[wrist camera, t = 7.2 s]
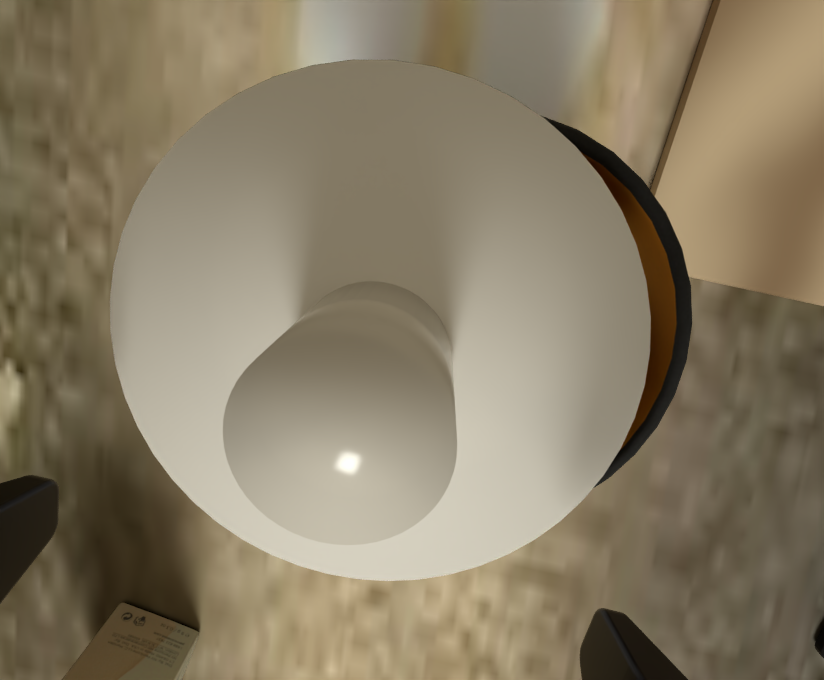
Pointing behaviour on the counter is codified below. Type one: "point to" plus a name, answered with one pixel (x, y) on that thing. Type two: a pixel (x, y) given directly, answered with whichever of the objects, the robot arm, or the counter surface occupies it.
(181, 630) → the box
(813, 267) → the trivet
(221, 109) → the lid
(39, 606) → the counter surface
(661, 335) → the mug
